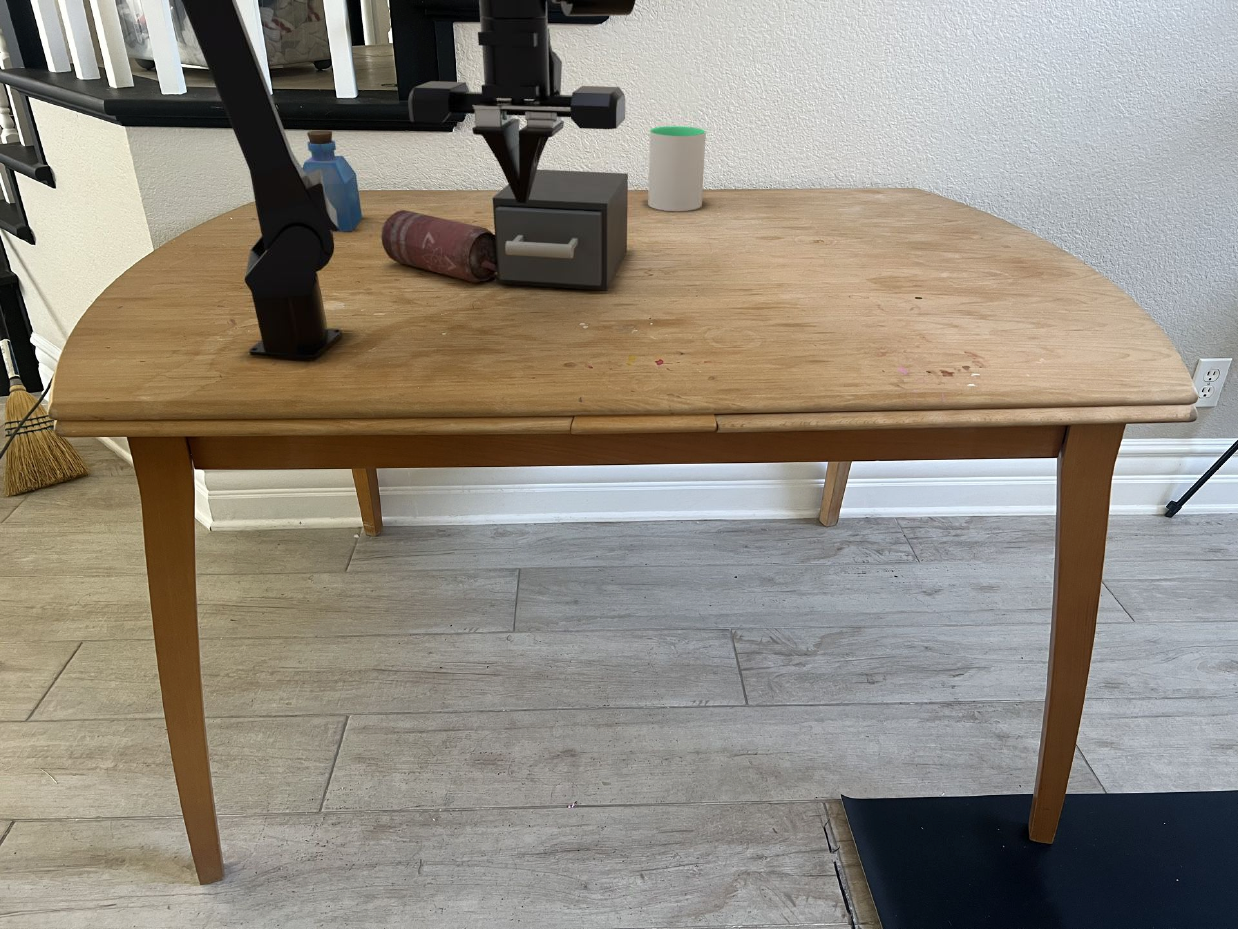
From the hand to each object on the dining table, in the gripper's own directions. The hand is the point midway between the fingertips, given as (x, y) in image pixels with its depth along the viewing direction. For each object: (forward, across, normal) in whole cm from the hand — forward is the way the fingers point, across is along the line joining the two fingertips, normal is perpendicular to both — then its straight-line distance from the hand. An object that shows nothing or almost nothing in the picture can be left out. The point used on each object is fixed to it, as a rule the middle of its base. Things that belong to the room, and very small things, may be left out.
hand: (522, 202), depth 81 cm
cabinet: (+12, 0, -18) cm, 22 cm away
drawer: (+11, 0, -14) cm, 18 cm away
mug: (+12, -9, -52) cm, 54 cm away
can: (+9, +20, -17) cm, 28 cm away
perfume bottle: (+12, +35, -30) cm, 48 cm away
